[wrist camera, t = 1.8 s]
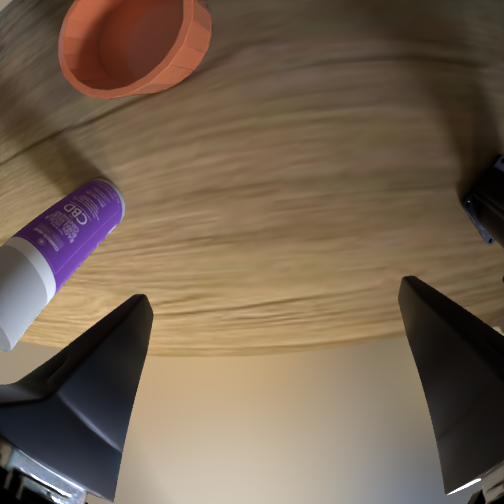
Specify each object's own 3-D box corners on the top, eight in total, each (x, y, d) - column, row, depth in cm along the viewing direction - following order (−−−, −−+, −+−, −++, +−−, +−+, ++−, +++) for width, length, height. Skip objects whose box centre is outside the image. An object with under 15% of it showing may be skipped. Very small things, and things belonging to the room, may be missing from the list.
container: (127, 184, 21) (-5, 307, 8) (123, 233, 24) (23, 366, 11) (82, 173, 21) (-52, 273, 8) (81, 220, 23) (-26, 332, 11)
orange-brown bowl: (239, 12, 14) (227, -11, 10) (166, 115, 18) (135, 124, 14) (140, -28, 12) (108, -49, 8) (80, 67, 16) (39, 69, 12)
